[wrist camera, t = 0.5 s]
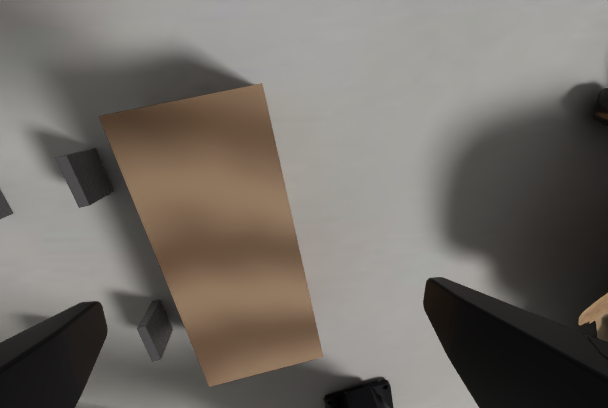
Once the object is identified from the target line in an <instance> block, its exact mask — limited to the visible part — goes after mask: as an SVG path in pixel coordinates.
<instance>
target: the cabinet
mask: <svg viewBox="0 0 608 408" xmlns="http://www.w3.org/2000/svg"><path fill="white" fill-rule="evenodd" d="M99 118H100V121H101V123H102V126H103V128H104V131H105V133H106V136H107V138H108V140H109V143H110V145H111V148H112V150H113V153H114V155H115V158H116V160H117V162H118V165H119V167H120V170H121V172H122V175H123V177H124V180H125V182H126V185H127V187H128V189H129V192H130V194H131V197H132V199H133V202H134V204H135V207H136V209H137V211H138V214H139V216H140V219H141V221H142V224H143V226H144V229H145V231H146V233H147V236H148V238H149V241H150V243H151V246H152V248H153V251H154V253H155V255H156V258H157V260H158V263H159V265H160V268H161V270H162V273H163V275H164V278H165V280H166V282H167V285H168V287H169V290H170V292H171V295H172V297H173V300H174V302H175V304H176V307H177V309H178V312H179V314H180V317H181V319H182V322H183V324H184V326H185V329H186V331H187V334H188V336H189V339H190V341H191V344H192V346H193V348H194V351H195V353H196V356H197V358H198V361H199V363H200V366H201V368H202V370H203V373H204V375H205V378H206V380H207V383H208V385H209V387H211V386H215V385H218V384H222V383H226V382H230V381H234V380H237V379H241V378H245V377H249V376H253V375H256V374H260V373H264V372H268V371H272V370H275V369H279V368H283V367H287V366H291V365H294V364H298V363H302V362H306V361H310V360H313V359H317V358H321V357H323V354H322V349H321V345H320V340H319V336H318V331H317V327H316V322H315V318H314V313H313V309H312V304H311V300H310V295H309V291H308V286H307V282H306V277H305V273H304V269H303V264H302V260H301V255H300V251H299V246H298V242H297V237H296V233H295V228H294V224H293V219H292V215H291V210H290V206H289V201H288V197H287V192H286V188H285V184H284V179H283V175H282V170H281V166H280V161H279V157H278V152H277V148H276V143H275V139H274V134H273V130H272V125H271V121H270V116H269V112H268V107H267V103H266V98H265V94H264V90H263V85H262V83H261V84H256V85H251V86H246V87H241V88H236V89H231V90H227V91H222V92H217V93H212V94H207V95H202V96H197V97H192V98H187V99H182V100H177V101H172V102H167V103H162V104H157V105H152V106H147V107H142V108H137V109H132V110H127V111H122V112H117V113H112V114H107V115H102V116H99ZM56 161H57V163H58V165H59V167H60V169H61V171H62V173H63V175H64V177H65V179H66V182H67V184H68V186H69V188H70V190H71V192H72V194H73V196H74V198H75V200H76V202H77V205H78V207H79V208H80V207H85V206H89V205H91V204H93V203H95V202H96V201H98V200H100V199H102V198H103V197H105V196H107V195H109V194H110V193H112V192H114V191H113V189H112V187H111V184H110V182H109V180H108V177H107V175H106V173H105V170H104V168H103V166H102V163H101V161H100V159H99V156H98V154H97V152H96V149H95V148H94V149H89V150H84V151H80V152H76V153H72V154H68V155H64V156H60V157H56ZM11 214H13V212H12V210H11V208H10V206H9V205H8V203H7V201H6V199H5V197H4V196H3V194H2V192H1V190H0V219H2V218H4V217H6V216H9V215H11ZM137 330H138V332H139V334H140V337H141V339H142V341H143V343H144V345H145V347H146V349H147V351H148V353H149V355H150V358H151V360H152V362H153V361H157V360H161V358H162V355H163V353H164V350H165V348H166V345H167V343H168V340H169V338H170V336H171V333H172V331H173V329H172V327H171V325H170V322H169V320H168V318H167V315H166V313H165V311H164V308H163V306H162V304H161V301H160V300H157V301H153V302H152V303H151V305H150V306H149V308H148V310H147V312H146V313H145V315H144V317H143V319H142V320H141V322H140V324H139V326H138V327H137Z"/></svg>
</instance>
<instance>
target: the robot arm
mask: <svg viewBox="0 0 608 408" xmlns="http://www.w3.org/2000/svg"><path fill="white" fill-rule="evenodd" d="M423 305H424V309H425V312H426V314H427V316H428V318H429V320H430V322H431V324H432V326H433V328H434V330H435V332H436V334H437V336H438V338H439V340H440V342H441V344H442V346H443V348H444V350H445V352H446V354H447V356H448V358H449V359H450V361H451V363H452V364H453V366H454V368H455V369H456V371H457V373H458V374H459V376H460V377H461V379H462V381H463V382H464V384H465V385H466V387H467V389H468V390H469V392H470V394H471V395H472V397H473V398H474V400H475V402H476V403H477V405H478V406H479V408H608V343H606V342H604V341H601V340H599V339H596V338H594V337H591V336H586V335H585V334H584V333H581V332H579V331H576V330H574V329H571V328H569V327H566V326H564V325H561V324H559V323H556V322H554V321H551V320H548V319H546V318H543V317H541V316H538V315H536V314H533V313H531V312H528V311H526V310H523V309H521V308H518V307H516V306H513V305H511V304H508V303H506V302H503V301H501V300H498V299H496V298H493V297H491V296H488V295H486V294H483V293H481V292H478V291H476V290H473V289H471V288H468V287H465V286H463V285H460V284H458V283H455V282H453V281H450V280H448V279H445V278H443V277H435V278H429V279H428V280H427V281H426V286H425V293H424V300H423ZM106 336H107V324H106V320H105V316H104V311H103V307H102V305H101V303H100V302H98V301H93V302H82V303H79V304H77V305H75V306H73V307H71V308H69V309H67V310H65V311H63V312H61V313H59V314H57V315H55V316H53V317H51V318H49V319H47V320H45V321H43V322H41V323H39V324H37V325H35V326H33V327H31V328H29V329H27V330H25V331H23V332H21V333H19V334H17V335H15V336H13V337H11V338H9V339H7V340H5V341H3V342H1V343H0V408H75V406H76V404H77V402H78V400H79V398H80V396H81V394H82V392H83V390H84V388H85V386H86V383H87V381H88V379H89V376H90V374H91V371H92V369H93V367H94V364H95V362H96V360H97V357H98V355H99V353H100V350H101V348H102V346H103V343H104V341H105V339H106ZM324 402H325V406H326V408H393V402H392V394H391V387H390V384H389V382H388V381H387V380H381V381H378V382H374V383H370V384H367V385H363V386H359V387H356V388H352V389H348V390H345V391H341V392H337V393H334V394H330V395H327V396H326V397H325V398H324Z"/></svg>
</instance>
